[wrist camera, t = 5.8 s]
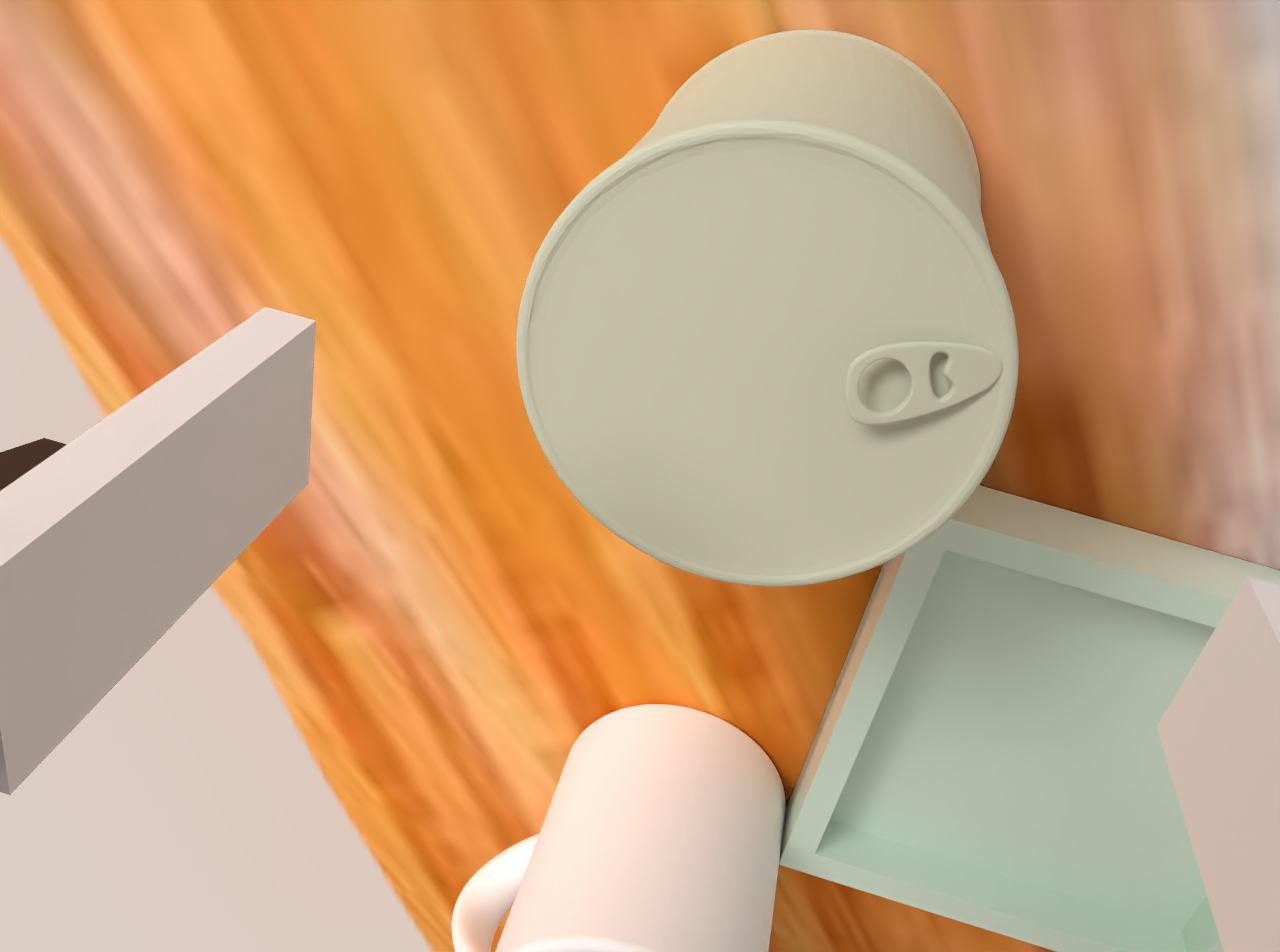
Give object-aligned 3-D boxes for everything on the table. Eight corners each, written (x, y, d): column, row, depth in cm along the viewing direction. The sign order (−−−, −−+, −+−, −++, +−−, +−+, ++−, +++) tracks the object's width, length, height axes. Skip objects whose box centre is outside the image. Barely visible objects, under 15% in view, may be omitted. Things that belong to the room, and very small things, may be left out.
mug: (800, 1115, 32) (467, 1150, 37) (822, 844, 41) (551, 900, 45) (674, 921, 29) (330, 986, 34) (727, 675, 38) (448, 753, 42)
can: (982, 357, 31) (1024, 603, 20) (662, 377, 33) (554, 607, 23) (978, 3, 27) (1027, 88, 16) (611, 54, 29) (452, 158, 19)
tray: (921, 468, 33) (922, 510, 31) (1430, 613, 32) (1469, 667, 29) (785, 811, 40) (778, 864, 38) (1191, 937, 39) (1208, 999, 37)
